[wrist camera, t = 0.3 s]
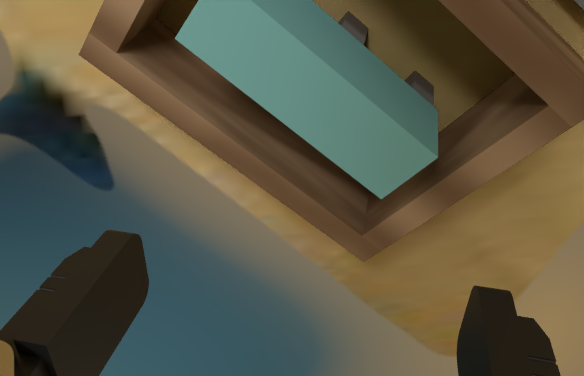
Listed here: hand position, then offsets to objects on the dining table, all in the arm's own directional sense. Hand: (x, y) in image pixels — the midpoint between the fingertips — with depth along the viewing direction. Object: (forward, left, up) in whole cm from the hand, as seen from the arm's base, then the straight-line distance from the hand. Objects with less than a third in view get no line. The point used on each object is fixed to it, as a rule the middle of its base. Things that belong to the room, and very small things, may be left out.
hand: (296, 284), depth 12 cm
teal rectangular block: (+4, 0, -19) cm, 20 cm away
